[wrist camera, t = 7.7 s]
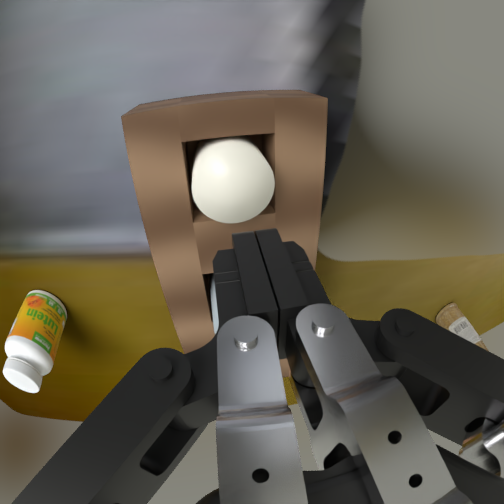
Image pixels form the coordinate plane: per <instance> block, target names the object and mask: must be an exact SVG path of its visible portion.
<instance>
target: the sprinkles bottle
mask: <svg viewBox="0 0 504 504" xmlns="http://www.w3.org/2000/svg"><path fill="white" fill-rule="evenodd" d="M436 323H437V324H438V325H439V326H441V327H443V328H445V329H447V330H449V331H451V332H453V333H455V334H457V335H459V336H460V337H462V338H464V339H466V340H468V341H470V342H472V343H474V344H476V345H478V346H479V347H481V348H483V349H485V350H487V351H488V349H487V348H486V346H485V345H484V343H483V341H482V339H481V338H480V337H479V335H478V334H477V332H476V331H475V329H474V328H473V327H472V325H471V324H470V322H469V321H468V320H467V318H466V317H465V316H464V315H463V314H462V312H461V311H460V310H459V308H458V307H457V304H455V303H450V304H448V305H446V306H445V307H444V308H443V309H442V310H441V311H440V312H439V313H438V315H437V317H436Z"/></svg>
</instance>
